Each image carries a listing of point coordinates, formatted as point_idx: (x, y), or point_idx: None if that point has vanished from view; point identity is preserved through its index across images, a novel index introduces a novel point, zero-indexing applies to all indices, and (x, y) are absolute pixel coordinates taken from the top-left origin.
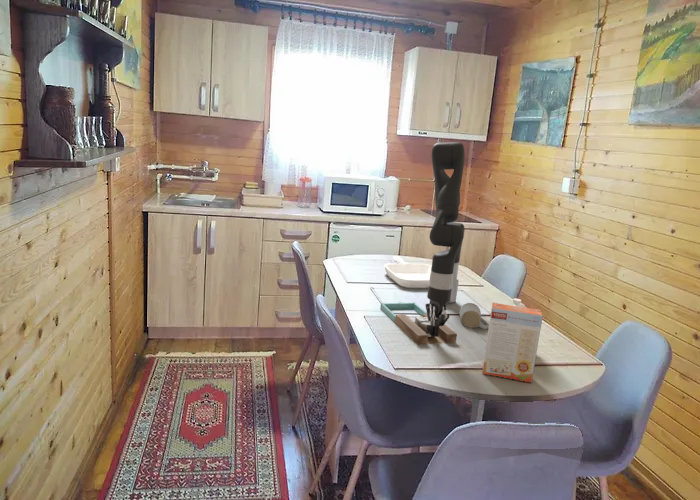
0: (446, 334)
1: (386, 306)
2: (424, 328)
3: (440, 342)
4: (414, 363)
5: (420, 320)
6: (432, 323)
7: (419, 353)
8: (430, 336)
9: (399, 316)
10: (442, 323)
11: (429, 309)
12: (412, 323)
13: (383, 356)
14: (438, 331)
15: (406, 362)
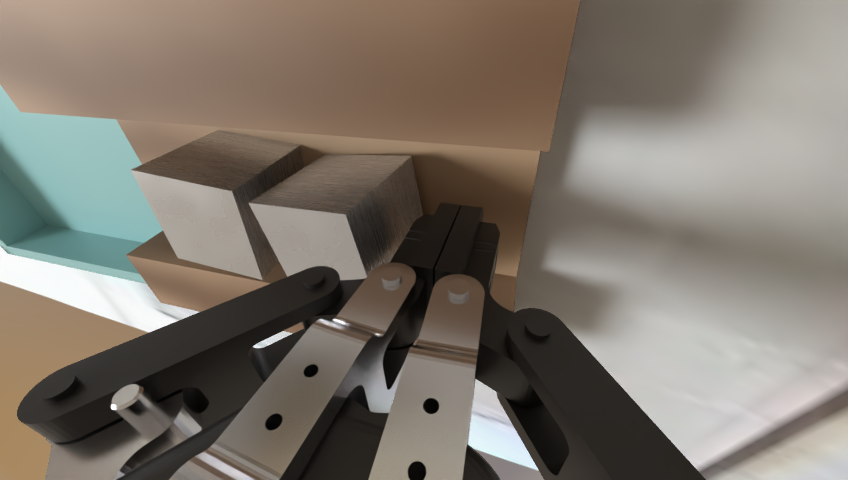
0: (527, 146)
1: (10, 221)
2: None
3: (522, 167)
4: (699, 419)
5: (246, 267)
6: (418, 335)
7: (596, 343)
8: (421, 213)
9: (184, 301)
10: (562, 369)
11: (208, 414)
12: None
13: None
14: (473, 233)
15: (664, 432)
